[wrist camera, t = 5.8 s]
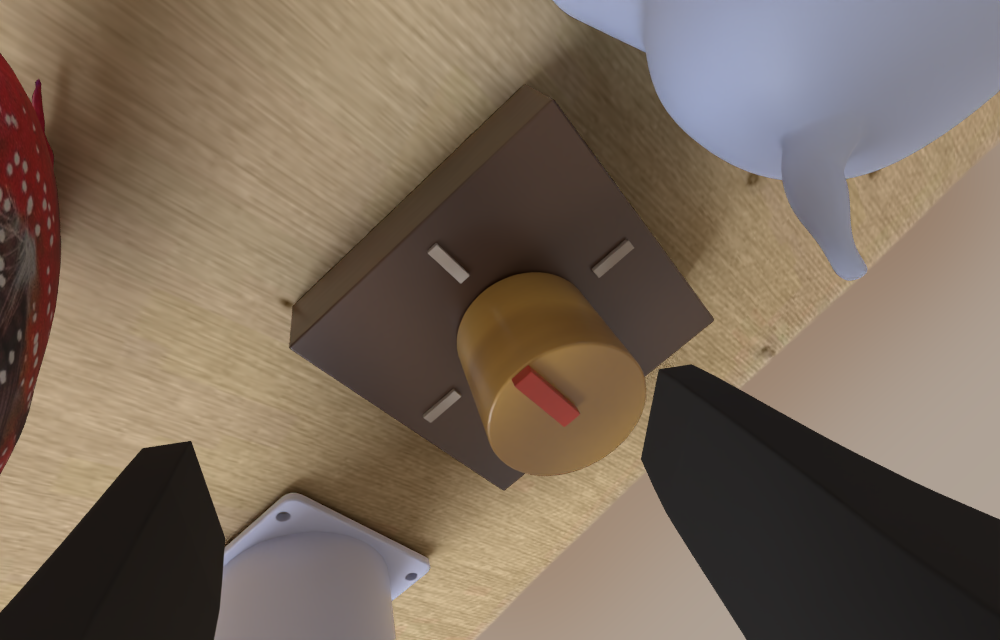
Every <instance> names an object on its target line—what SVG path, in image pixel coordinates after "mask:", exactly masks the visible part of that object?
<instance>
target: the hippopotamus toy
mask: <svg viewBox="0 0 1000 640" xmlns="http://www.w3.org/2000/svg"><path fill="white" fill-rule="evenodd" d="M553 2H554V3H555V4H556V5H557V6H558V7H559V8H560V9H562V10H563V11H564V12H565V13H567V14H568V15H570V16H571V17H573V18H575V19H577V20H579V21H581V22H583V23H585V24H587V25H589V26H591V27H593V28H595V29H597V30H600V31H602V32H604V33H606V34H608V35H610V36H612V37H614V38H616V39H618V40H620V41H622V42H624V43H626V44H629V45H631V46H633V47H635V48H637V49H639V50H641V51H643V52H645V53H646V57H647V63H648V68H649V72H650V76H651V79H652V82H653V85H654V88H655V90H656V93H657V95H658V97H659V99H660V101H661V103H662V104H663V106H664V108H665V109H666V111H667V112H668V113H669V115H670V116H671V117H672V119H673V120H674V121H675V122H676V123H677V124H678V125H679V126H680V127H681V128H682V129H683V130H684V131H685V132H686V133H687V134H688V135H689V136H690V137H692V138H693V139H694V140H695V141H696V142H698V143H699V144H700V145H702V146H703V147H704V148H706V149H707V150H708V151H710V152H711V153H713V154H714V155H716V156H718V157H719V158H721V159H723V160H724V161H726V162H728V163H730V164H732V165H734V166H736V167H738V168H740V169H743V170H745V171H748V172H751V173H754V174H757V175H760V176H764V177H768V178H773V179H779V180H782V181H783V186H784V190H785V193H786V196H787V199H788V201H789V204H790V206H791V208H792V209H793V211H794V213H795V214H796V216H797V217H798V219H799V220H800V221H801V223H802V224H803V225H804V227H805V228H806V229H807V230H808V231H809V233H810V234H811V235H812V236H813V238H814V239H815V240H816V241H817V243H818V244H819V246H820V247H821V249H822V250H823V252H824V254H825V255H826V257H827V259H828V261H829V262H830V264H831V266H832V268H833V270H834V271H835V273H836V274H837V275H838V276H840V277H841V278H843V279H845V280H856V279H859V278H861V277H863V276H864V275H865V274H866V273H867V266H866V264H865V262H864V261H863V259H862V258H861V256H860V254H859V252H858V250H857V248H856V246H855V243H854V239H853V235H852V229H851V220H850V199H849V190H848V185H847V182H846V179H848V178H853V177H857V176H861V175H865V174H868V173H871V172H874V171H877V170H880V169H882V168H885V167H887V166H889V165H891V164H894V163H896V162H898V161H900V160H902V159H904V158H906V157H908V156H909V155H911V154H913V153H915V152H916V151H918V150H920V149H922V148H923V147H925V146H926V145H928V144H930V143H931V142H933V141H934V140H936V139H937V138H939V137H940V136H942V135H943V134H945V133H946V132H948V131H949V130H950V129H952V128H953V127H955V126H956V125H957V124H959V123H960V122H962V121H963V120H964V119H965V118H967V117H968V116H969V115H971V114H972V113H973V112H975V111H976V110H977V109H978V108H980V107H981V106H982V105H983V104H984V103H986V102H987V101H988V100H989V99H991V98H992V97H993V96H994V95H995V94H996V93H998V92H999V91H1000V0H553Z"/></svg>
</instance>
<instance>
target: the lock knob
mask: <svg viewBox="0 0 1000 640" xmlns="http://www.w3.org/2000/svg"><path fill="white" fill-rule="evenodd" d="M457 351H458V356H459V359H460V362H461V365H462V368H463V370H464V373H465V376H466V379H467V381H468V384H469V387H470V390H471V393H472V395H473V398H474V401H475V404H476V407H477V409H478V412H479V415H480V418H481V421H482V423H483V426H484V429H485V432H486V435H487V437H488V440H489V443H490V446H491V448H492V449H493V451H494V453H495V454H496V455H497V456H498V458H499V459H500V460H502V461H503V462H504V463H505V464H506V465H508V466H509V467H511V468H513V469H515V470H517V471H520V472H522V473H526V474H530V475H538V476H553V475H561V474H566V473H570V472H574V471H577V470H580V469H582V468H585V467H587V466H589V465H591V464H593V463H595V462H597V461H599V460H600V459H602V458H604V457H605V456H607V455H608V454H609V453H611V452H612V451H613V450H615V449H616V448H617V447H618V446H619V445H620V444H621V443H622V442H623V441H624V440H625V439H626V438H627V437H628V435H629V434H630V433H631V432H632V430H633V429H634V427H635V426H636V424H637V422H638V420H639V418H640V416H641V414H642V411H643V408H644V405H645V400H646V382H645V377H644V374H643V371H642V369H641V367H640V365H639V364H638V362H637V361H636V360H635V359H634V357H633V356H632V355H631V354H630V352H629V351H628V350H627V349H626V348H625V346H624V345H623V344H622V343H621V341H620V340H619V339H618V338H617V336H616V335H615V334H614V333H613V332H612V330H611V329H610V328H609V327H608V325H607V324H606V323H605V322H604V320H603V319H602V318H601V317H600V315H599V314H598V313H597V312H596V311H595V309H594V308H593V307H592V306H591V304H590V303H589V302H588V301H587V299H586V298H585V297H584V296H583V295H582V293H581V292H580V291H579V290H578V289H577V288H576V287H575V286H574V285H573V284H572V283H570V282H569V281H567V280H566V279H563V278H561V277H559V276H556V275H553V274H548V273H541V272H530V273H522V274H517V275H513V276H510V277H508V278H505V279H503V280H501V281H499V282H497V283H495V284H493V285H492V286H490V287H489V288H487V289H486V290H485V291H483V292H482V293H481V294H480V295H479V296H478V297H477V298H476V299H475V300H474V301H473V302H472V304H471V305H470V306H469V308H468V309H467V311H466V313H465V314H464V316H463V318H462V321H461V323H460V326H459V330H458V334H457Z"/></svg>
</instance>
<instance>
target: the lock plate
mask: <svg viewBox="0 0 1000 640" xmlns="http://www.w3.org/2000/svg"><path fill="white" fill-rule="evenodd" d="M530 272H541V273H548V274H553V275H556V276H559V277H561V278H563V279H566V280H567V281H569V282H570V283H572V284H573V285H574V286H575V287H576V288H577V289H578V290H579V291H580V292H581V293H582V295H583V296H584V297H585V298H586V299H587V301H588V302H589V303H590V304H591V306H592V307H593V308H594V309H595V311H596V312H597V313H598V314H599V315H600V317H601V318H602V319H603V320H604V322H605V323H606V324H607V325H608V327H609V328H610V329H611V330H612V332H613V333H614V334H615V335H616V336H617V338H618V339H619V340H620V341H621V343H622V344H623V345H624V346H625V348H626V349H627V350H628V351H629V352H630V354H631V355H632V356H633V357H634V359H635V360H636V361H637V362H638V364H639V365H640V367H641V369H642V371H643V374H644V377H645V376H646V375H648V374H649V373H650V372H651V371H652V370H654V369H655V368H656V367H657V366H659V365H660V364H661V363H662V362H664V361H665V360H666V359H667V358H669V357H670V356H671V355H672V354H673V353H675V352H676V351H677V350H678V349H680V348H681V347H682V346H683V345H685V344H686V343H687V342H688V341H690V340H691V339H692V338H693V337H694V336H696V335H697V334H698V333H699V332H701V331H702V330H703V329H704V328H706V327H707V326H708V325H709V324H711V323H712V322H713V321H714V318H713V317H712V315H711V314H710V313H709V311H708V310H707V309H706V307H705V306H704V304H703V303H702V302H701V300H700V299H699V298H698V296H697V295H696V293H695V292H694V291H693V289H692V288H691V287H690V285H689V284H688V282H687V281H686V280H685V278H684V277H683V276H682V274H681V273H680V272H679V270H678V269H677V267H676V266H675V265H674V263H673V262H672V261H671V259H670V258H669V256H668V255H667V254H666V252H665V251H664V250H663V248H662V247H661V245H660V244H659V243H658V241H657V240H656V239H655V237H654V236H653V235H652V233H651V232H650V230H649V229H648V228H647V226H646V225H645V224H644V222H643V221H642V219H641V218H640V217H639V215H638V214H637V213H636V211H635V210H634V208H633V207H632V206H631V204H630V203H629V202H628V200H627V199H626V197H625V196H624V195H623V193H622V192H621V191H620V189H619V188H618V187H617V185H616V184H615V182H614V181H613V180H612V178H611V177H610V176H609V174H608V173H607V171H606V170H605V169H604V167H603V166H602V165H601V163H600V162H599V160H598V159H597V158H596V156H595V155H594V154H593V152H592V151H591V150H590V148H589V147H588V145H587V144H586V143H585V141H584V140H583V139H582V137H581V136H580V134H579V133H578V132H577V130H576V129H575V128H574V126H573V125H572V123H571V122H570V121H569V119H568V118H567V117H566V115H565V114H564V112H563V111H562V110H561V108H560V107H559V106H558V104H557V103H556V102H555V100H553V99H552V98H550V97H548V96H546V95H544V94H542V93H541V92H539V91H537V90H535V89H533V88H531V87H530V86H528V85H526V84H525V85H523V86H522V87H521V88H520V89H519V90H518V91H517V92H516V93H515V94H514V95H513V96H512V97H511V98H510V99H509V100H508V101H507V102H506V103H504V104H503V105H502V106H501V107H500V108H499V109H498V110H497V111H496V112H495V113H494V114H493V115H492V116H491V117H490V118H489V119H488V120H487V121H486V122H485V123H484V124H483V125H482V126H480V127H479V128H478V129H477V130H476V131H475V132H474V133H473V134H472V135H471V136H470V137H469V138H468V139H467V140H466V141H465V142H464V143H463V144H462V145H461V146H460V147H459V148H458V149H456V150H455V151H454V152H453V153H452V154H451V155H450V156H449V157H448V158H447V159H446V160H445V161H444V162H443V163H442V164H441V165H440V166H439V167H438V168H437V169H436V170H435V171H434V172H432V173H431V174H430V175H429V176H428V177H427V178H426V179H425V180H424V181H423V182H422V183H421V184H420V185H419V186H418V187H417V188H416V189H415V190H414V191H413V192H412V193H411V194H410V195H408V196H407V197H406V198H405V199H404V200H403V201H402V202H401V203H400V204H399V205H398V206H397V207H396V208H395V209H394V210H393V211H392V212H391V213H390V214H389V215H388V216H387V217H386V218H384V219H383V220H382V221H381V222H380V223H379V224H378V225H377V226H376V227H375V228H374V229H373V230H372V231H371V232H370V233H369V234H368V235H367V236H366V237H365V238H364V239H363V240H362V241H360V242H359V243H358V244H357V245H356V246H355V247H354V248H353V249H352V250H351V251H350V252H349V253H348V254H347V255H346V256H345V257H344V258H343V259H342V260H341V261H340V262H339V263H338V264H336V265H335V266H334V267H333V268H332V269H331V270H330V271H329V272H328V273H327V274H326V275H325V276H324V277H323V278H322V279H321V280H320V281H319V282H318V283H317V284H316V285H315V286H314V287H312V288H311V289H310V290H309V291H308V292H307V293H306V294H305V295H304V296H303V297H302V298H301V299H300V300H299V301H298V302H297V303H296V304H295V305H294V306H293V308H292V319H291V331H290V343H289V348H290V349H291V350H292V351H294V352H295V353H297V354H298V355H300V356H301V357H303V358H304V359H306V360H307V361H309V362H310V363H312V364H313V365H315V366H316V367H318V368H319V369H321V370H322V371H324V372H325V373H327V374H328V375H330V376H332V377H333V378H335V379H336V380H338V381H339V382H341V383H342V384H344V385H345V386H347V387H348V388H350V389H351V390H353V391H354V392H356V393H357V394H359V395H360V396H362V397H363V398H365V399H366V400H368V401H369V402H371V403H372V404H374V405H375V406H377V407H378V408H380V409H381V410H383V411H384V412H386V413H387V414H389V415H390V416H392V417H393V418H395V419H396V420H398V421H399V422H401V423H402V424H404V425H405V426H407V427H408V428H410V429H411V430H413V431H414V432H416V433H417V434H419V435H420V436H422V437H423V438H425V439H426V440H428V441H429V442H431V443H432V444H434V445H435V446H437V447H438V448H440V449H441V450H443V451H444V452H446V453H447V454H449V455H450V456H452V457H453V458H455V459H456V460H458V461H459V462H461V463H462V464H464V465H465V466H467V467H468V468H470V469H471V470H473V471H474V472H476V473H477V474H479V475H480V476H482V477H483V478H485V479H486V480H488V481H489V482H491V483H492V484H494V485H496V486H497V487H499V488H500V489H502V490H506V489H507V488H508V487H509V486H511V485H512V484H513V483H514V482H515V481H517V480H518V479H519V478H520V477H522V476H523V475H524V474H525V473H522V472H520V471H517V470H515V469H513V468H511V467H509V466H508V465H506V464H505V463H504V462H503V461H502V460H500V459H499V458H498V456H497V455H496V454H495V453H494V451H493V449H492V448H491V446H490V443H489V440H488V437H487V435H486V432H485V429H484V426H483V423H482V421H481V418H480V415H479V412H478V409H477V407H476V404H475V401H474V398H473V395H472V393H471V390H470V387H469V384H468V381H467V379H466V376H465V373H464V370H463V368H462V365H461V362H460V359H459V356H458V351H457V334H458V330H459V326H460V323H461V321H462V318H463V316H464V314H465V313H466V311H467V309H468V308H469V306H470V305H471V304H472V302H473V301H474V300H475V299H476V298H477V297H478V296H479V295H480V294H481V293H482V292H483V291H485V290H486V289H487V288H489V287H490V286H492V285H493V284H495V283H497V282H499V281H501V280H503V279H505V278H508V277H510V276H513V275H517V274H522V273H530Z"/></svg>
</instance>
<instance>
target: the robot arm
mask: <svg viewBox="0 0 1000 640" xmlns="http://www.w3.org/2000/svg"><path fill="white" fill-rule="evenodd" d="M641 460H642V462H643V464H644V467H645V469H646V471H647V473H648V476H649V478H650V480H651V482H652V485H653V487H654V489H655V491H656V493H657V495H658V497H659V499H660V501H661V503H662V505H663V507H664V509H665V511H666V513H667V515H668V516H669V518H670V519H671V521H672V523H673V525H674V526H675V528H676V530H677V531H678V533H679V534H680V536H681V537H682V539H683V541H684V542H685V544H686V545H687V547H688V549H689V550H690V552H691V553H692V555H693V556H694V558H695V560H696V561H697V563H698V564H699V566H700V567H701V569H702V571H703V572H704V574H705V575H706V577H707V578H708V580H709V581H710V583H711V585H712V586H713V588H714V589H715V591H716V592H717V594H718V596H719V597H720V599H721V600H722V602H723V603H724V605H725V606H726V608H727V609H728V611H729V613H730V614H731V616H732V617H733V619H734V620H735V622H736V624H737V625H738V627H739V628H740V630H741V631H742V633H743V635H744V636H745V638H746V640H1000V519H997V518H995V517H993V516H990V515H988V514H985V513H983V512H981V511H979V510H976V509H974V508H972V507H969V506H967V505H965V504H962V503H960V502H958V501H956V500H953V499H951V498H949V497H946V496H944V495H942V494H939V493H937V492H935V491H933V490H931V489H928V488H926V487H924V486H922V485H920V484H917V483H915V482H913V481H911V480H909V479H907V478H905V477H903V476H901V475H899V474H897V473H894V472H893V471H891V470H889V469H887V468H885V467H883V466H881V465H879V464H877V463H875V462H873V461H871V460H869V459H867V458H865V457H863V456H860V455H858V454H857V453H854V452H853V451H851V450H849V449H847V448H845V447H843V446H841V445H839V444H837V443H836V442H833V441H832V440H830V439H828V438H826V437H824V436H822V435H820V434H819V433H817V432H815V431H813V430H811V429H809V428H808V427H806V426H804V425H802V424H800V423H799V422H797V421H795V420H793V419H791V418H789V417H787V416H786V415H784V414H782V413H780V412H778V411H777V410H775V409H773V408H771V407H770V406H768V405H766V404H764V403H763V402H761V401H759V400H757V399H755V398H754V397H752V396H750V395H748V394H747V393H745V392H743V391H741V390H739V389H738V388H736V387H734V386H732V385H730V384H729V383H727V382H725V381H723V380H721V379H719V378H717V377H716V376H714V375H712V374H710V373H708V372H706V371H704V370H702V369H700V368H698V367H696V366H694V365H684V366H678V367H671V368H665V369H659V371H658V376H657V381H656V386H655V391H654V396H653V401H652V406H651V411H650V416H649V421H648V427H647V432H646V437H645V442H644V447H643V452H642V457H641ZM280 512H287V513H284V514H282V513H280ZM429 570H430V563H429V559H428V558H427V557H425V556H423V555H421V554H419V553H417V552H415V551H413V550H411V549H409V548H407V547H405V546H403V545H401V544H399V543H397V542H395V541H393V540H391V539H389V538H387V537H385V536H383V535H381V534H379V533H377V532H375V531H373V530H371V529H369V528H367V527H365V526H363V525H361V524H359V523H357V522H355V521H353V520H351V519H349V518H347V517H345V516H343V515H341V514H339V513H337V512H335V511H333V510H331V509H329V508H327V507H326V506H324V505H322V504H320V503H318V502H316V501H314V500H312V499H310V498H308V497H306V496H304V495H302V494H299V493H289V494H286V495H284V496H282V497H281V498H280V499H279V500H278V501H277V502H276V503H274V504H273V505H272V506H271V507H270V508H269V509H268V510H266V511H265V512H264V513H263V514H262V515H261V516H260V517H259V518H257V519H256V520H255V521H254V522H253V523H252V524H251V525H249V526H248V527H247V528H246V529H245V530H244V531H243V532H242V533H240V534H239V535H238V536H237V537H236V538H235V539H234V540H232V541H231V542H230V543H229V544H228V545H227V546H226V547H225V537H224V534H223V531H222V528H221V525H220V522H219V519H218V517H217V514H216V511H215V508H214V505H213V502H212V499H211V497H210V494H209V491H208V488H207V485H206V482H205V479H204V477H203V474H202V471H201V468H200V465H199V462H198V459H197V457H196V454H195V451H194V448H193V445H192V442H191V441H188V442H181V443H174V444H168V445H161V446H155V447H148V448H143V449H142V450H141V451H140V452H139V453H138V454H137V455H136V457H135V458H134V459H133V460H132V461H131V462H130V463H129V465H128V466H127V467H126V468H125V469H124V470H123V471H122V473H121V474H120V475H119V476H118V477H117V478H116V480H115V481H114V482H113V483H112V484H111V486H110V487H109V488H108V489H107V490H106V492H105V493H104V494H103V495H102V496H101V497H100V499H99V500H98V501H97V502H96V503H95V505H94V506H93V507H92V508H91V509H90V511H89V512H88V513H87V514H86V515H85V516H84V518H83V519H82V520H81V521H80V522H79V523H78V525H77V526H76V527H75V528H74V529H73V531H72V532H71V533H70V534H69V535H68V536H67V538H66V539H65V540H64V541H63V542H62V543H61V545H60V546H59V547H58V548H57V549H56V550H55V551H54V553H53V554H52V555H51V556H50V557H49V558H48V559H47V560H46V562H45V563H44V564H43V565H42V566H41V567H40V568H39V570H38V571H37V572H36V573H35V574H34V575H33V576H32V578H31V579H30V580H29V581H28V582H27V583H26V584H25V586H24V587H23V588H22V589H21V590H20V591H19V592H18V594H17V595H16V596H15V597H14V598H13V599H12V600H11V601H10V602H9V604H8V605H7V606H6V607H5V608H4V609H3V610H2V611H1V612H0V640H396V635H395V626H394V617H393V608H392V601H393V600H394V599H395V598H396V597H398V596H399V595H400V594H401V593H403V592H404V591H405V590H406V589H408V588H409V587H410V586H411V585H413V584H414V583H415V582H416V581H418V580H419V579H420V578H421V577H423V576H424V575H425V574H426V573H427V572H428V571H429Z"/></svg>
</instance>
